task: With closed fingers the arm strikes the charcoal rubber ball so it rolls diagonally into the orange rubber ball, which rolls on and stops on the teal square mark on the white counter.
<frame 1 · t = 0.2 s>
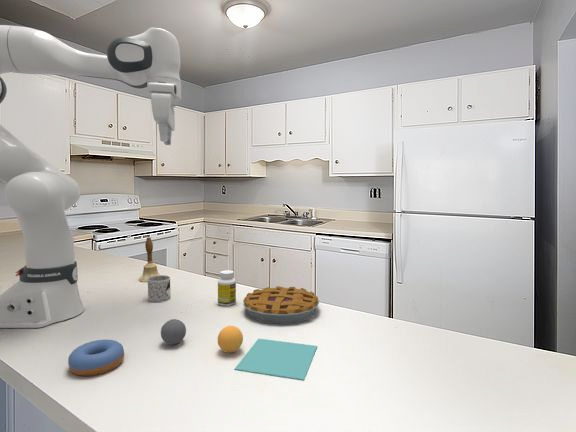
hand: (165, 143, 99), 47 cm above the countertop, tool pointing down, fingers open, 8 cm apart
ball b: (230, 338, 77), on the countertop
mark: (278, 357, 75), on the countertop
hand bell: (150, 279, 133), on the countertop
pie: (281, 312, 102), on the countertop
ball a: (173, 331, 81), on the countertop
doughnut: (97, 366, 72), on the countertop
supplement bottle: (227, 304, 108), on the countertop
mug: (159, 297, 113), on the countertop
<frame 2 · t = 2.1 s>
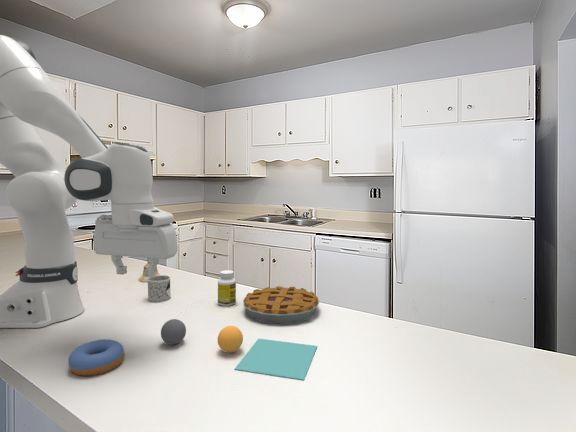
hand: (135, 275, 82), 15 cm above the countertop, tool pointing down, fingers open, 6 cm apart
nothing on the countertop moved.
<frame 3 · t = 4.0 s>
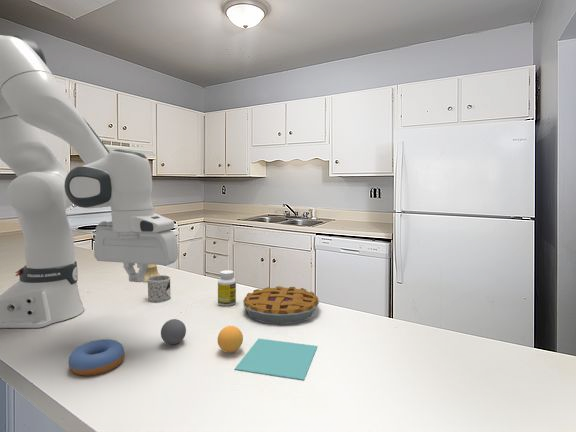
hand: (136, 281, 82), 14 cm above the countertop, tool pointing down, fingers closed
nothing on the countertop moved.
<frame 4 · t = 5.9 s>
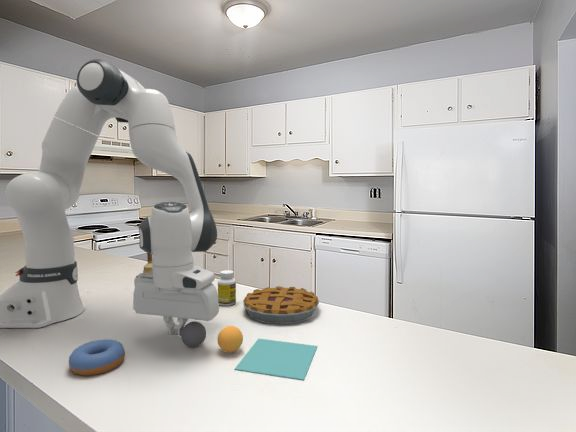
hand: (176, 334, 81), 2 cm above the countertop, tool pointing down, fingers closed
ball a: (193, 334, 80), on the countertop
everything else where it was.
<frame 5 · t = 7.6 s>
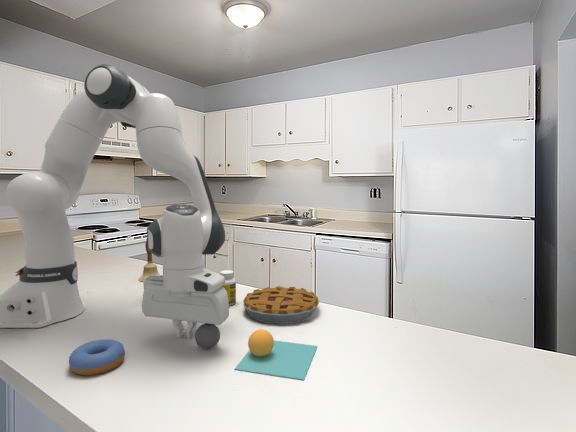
hand: (185, 337, 80), 2 cm above the countertop, tool pointing down, fingers closed
ball b: (261, 342, 76), on the countertop
ball a: (207, 335, 79), on the countertop
everything else where it was.
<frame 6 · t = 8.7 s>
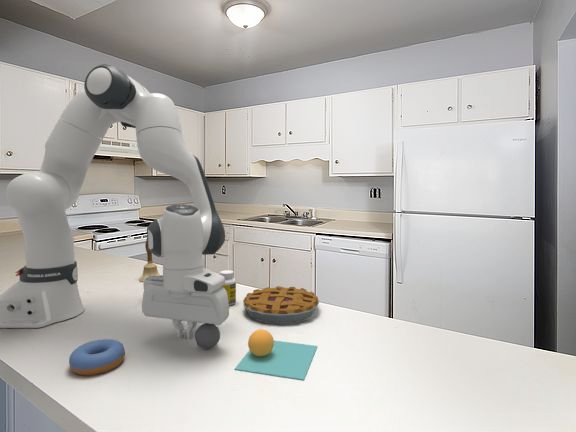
hand: (185, 337, 80), 2 cm above the countertop, tool pointing down, fingers closed
nothing on the countertop moved.
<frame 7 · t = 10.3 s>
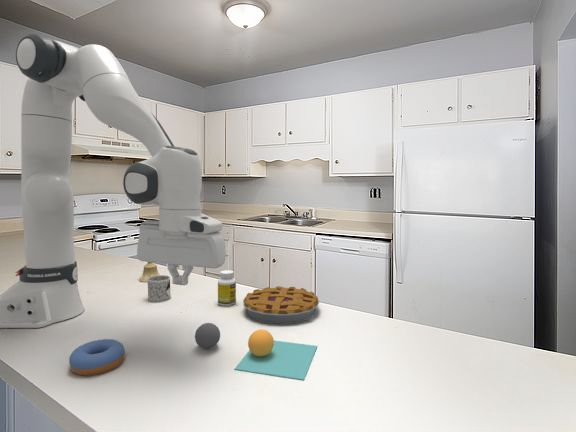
hand: (180, 284, 78), 14 cm above the countertop, tool pointing down, fingers closed
nothing on the countertop moved.
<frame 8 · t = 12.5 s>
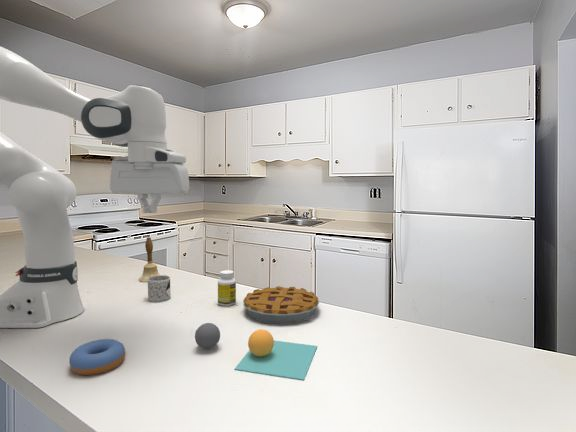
hand: (149, 212, 87), 29 cm above the countertop, tool pointing down, fingers closed
nothing on the countertop moved.
at the end: ball b 3.9 cm from the mark (horizontally); ball b never touched the robot; ball a first touched ball b at 6.0 s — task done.
